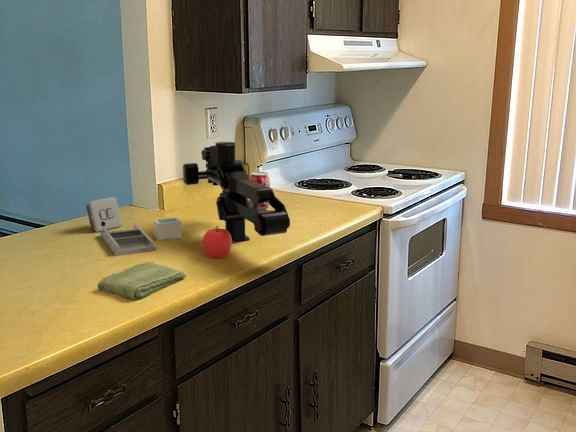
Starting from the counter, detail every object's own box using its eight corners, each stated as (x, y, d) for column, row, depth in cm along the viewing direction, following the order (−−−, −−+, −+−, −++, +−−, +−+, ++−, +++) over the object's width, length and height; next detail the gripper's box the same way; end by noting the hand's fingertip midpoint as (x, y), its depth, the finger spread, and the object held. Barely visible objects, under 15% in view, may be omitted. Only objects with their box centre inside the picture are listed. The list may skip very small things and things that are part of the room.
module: (181, 237, 180) (181, 219, 178) (158, 240, 177) (157, 222, 175) (177, 234, 183) (177, 216, 182) (154, 236, 180) (153, 219, 179)
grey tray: (156, 250, 167) (155, 241, 167) (115, 255, 163) (114, 246, 162) (138, 231, 185) (137, 223, 184) (100, 235, 180) (99, 227, 179)
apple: (204, 261, 159) (203, 231, 157) (200, 251, 167) (199, 223, 165) (235, 258, 161) (234, 229, 159) (229, 249, 169) (229, 221, 167)
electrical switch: (96, 233, 183) (92, 202, 181) (86, 231, 186) (82, 201, 184) (122, 226, 190) (119, 197, 188) (112, 225, 193) (109, 196, 191)
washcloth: (189, 279, 147) (188, 266, 147) (136, 303, 133) (135, 289, 132) (147, 269, 154) (147, 257, 153) (93, 291, 139) (92, 278, 138)
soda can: (270, 205, 219) (270, 171, 216) (268, 209, 212) (268, 175, 209) (251, 204, 220) (250, 171, 217) (247, 209, 213) (247, 174, 210)
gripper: (251, 147, 185) (231, 140, 198) (191, 150, 177) (174, 144, 190) (251, 183, 188) (231, 175, 201) (192, 189, 179) (176, 179, 193)
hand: (204, 167), depth 196 cm, fingers open, 9 cm apart
